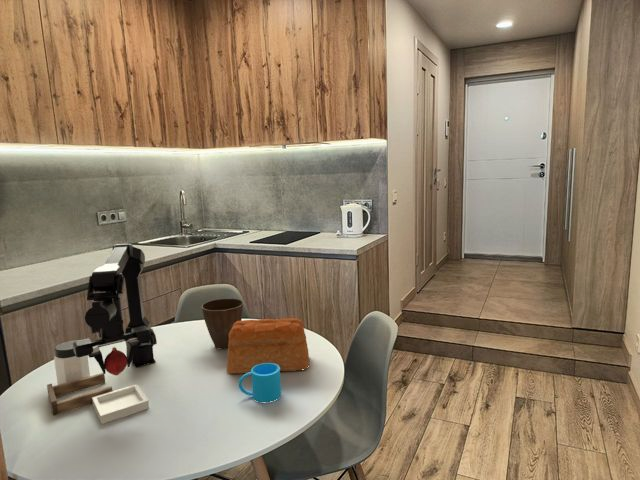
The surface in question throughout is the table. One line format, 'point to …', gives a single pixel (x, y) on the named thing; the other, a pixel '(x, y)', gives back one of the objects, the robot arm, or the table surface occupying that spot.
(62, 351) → the jar
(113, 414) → the tray
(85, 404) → the bay
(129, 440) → the table surface
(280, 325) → the bread
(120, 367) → the onion
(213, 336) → the plant pot
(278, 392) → the mug
